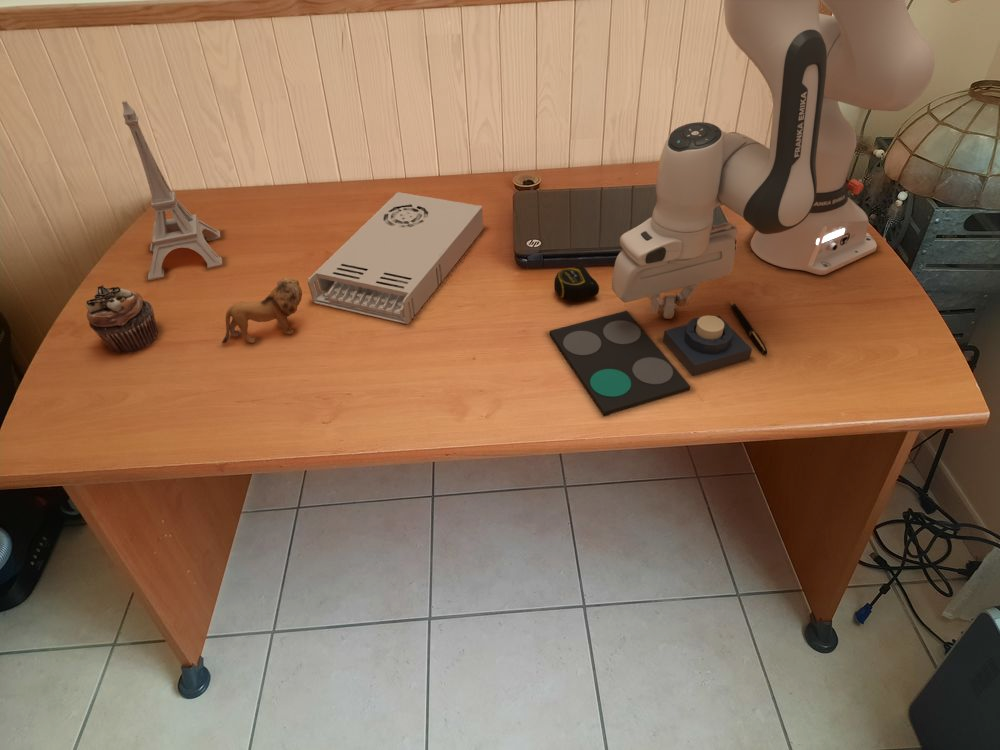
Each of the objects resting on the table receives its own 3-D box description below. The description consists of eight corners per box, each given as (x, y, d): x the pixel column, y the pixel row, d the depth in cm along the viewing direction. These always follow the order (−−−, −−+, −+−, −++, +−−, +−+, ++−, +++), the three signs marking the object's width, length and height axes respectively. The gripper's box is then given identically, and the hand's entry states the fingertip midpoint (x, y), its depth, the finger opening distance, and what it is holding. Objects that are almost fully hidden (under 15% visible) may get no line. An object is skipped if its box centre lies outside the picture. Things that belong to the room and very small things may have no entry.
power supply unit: (313, 303, 123) (306, 279, 119) (400, 213, 145) (397, 191, 141) (408, 325, 117) (404, 301, 114) (484, 228, 139) (482, 206, 136)
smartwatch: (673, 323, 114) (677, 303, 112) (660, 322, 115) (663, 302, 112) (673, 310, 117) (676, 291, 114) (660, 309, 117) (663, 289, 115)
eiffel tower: (220, 232, 142) (166, 82, 122) (222, 265, 133) (165, 109, 113) (151, 245, 140) (85, 94, 119) (148, 280, 130) (76, 123, 110)
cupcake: (157, 352, 114) (133, 303, 108) (96, 360, 113) (68, 311, 107) (168, 317, 121) (146, 269, 115) (110, 325, 120) (85, 276, 114)
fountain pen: (725, 303, 118) (727, 296, 117) (732, 302, 118) (733, 295, 117) (762, 358, 107) (764, 350, 106) (769, 357, 107) (771, 349, 106)
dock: (716, 326, 113) (721, 306, 111) (749, 359, 107) (754, 339, 104) (662, 341, 111) (665, 321, 108) (692, 376, 105) (696, 356, 102)
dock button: (713, 321, 109) (714, 312, 107) (727, 336, 106) (729, 327, 105) (690, 327, 108) (692, 318, 106) (704, 343, 105) (706, 334, 104)
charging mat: (626, 314, 117) (626, 309, 116) (689, 390, 103) (690, 385, 102) (549, 334, 114) (549, 329, 113) (603, 415, 99) (604, 410, 99)
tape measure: (599, 300, 120) (601, 282, 117) (562, 309, 118) (563, 291, 116) (584, 279, 125) (585, 261, 122) (548, 287, 123) (548, 269, 121)
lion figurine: (306, 311, 121) (293, 267, 115) (314, 328, 117) (301, 284, 111) (220, 337, 117) (202, 293, 110) (225, 355, 113) (208, 311, 107)
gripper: (727, 210, 110) (712, 283, 119) (610, 238, 105) (604, 311, 115) (751, 229, 106) (734, 303, 115) (630, 259, 101) (622, 333, 110)
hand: (668, 307), depth 115 cm, fingers open, 3 cm apart
